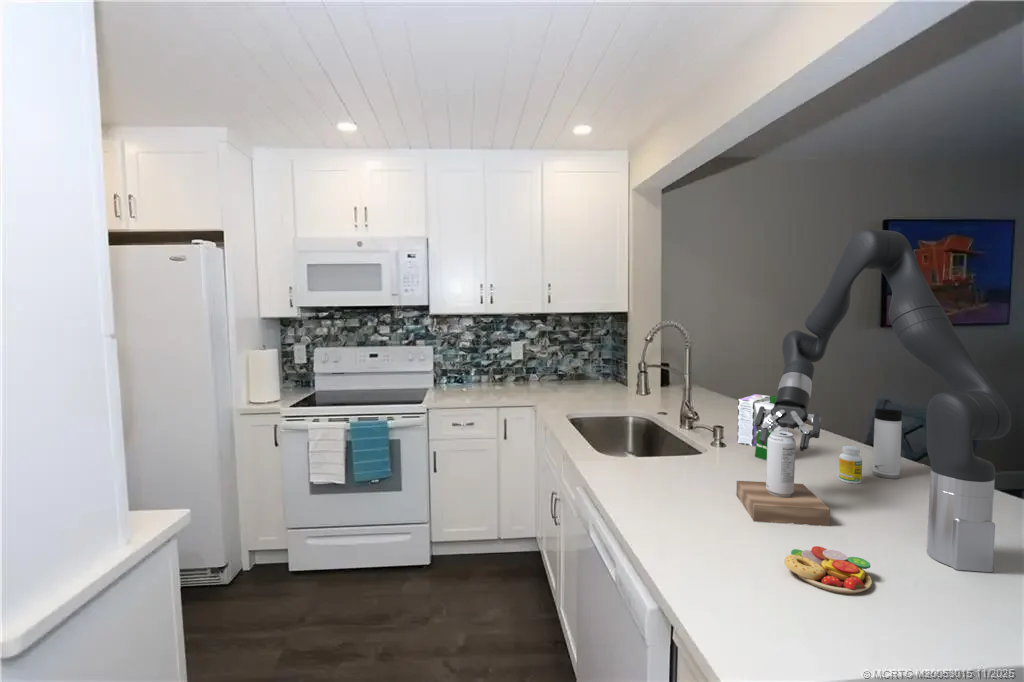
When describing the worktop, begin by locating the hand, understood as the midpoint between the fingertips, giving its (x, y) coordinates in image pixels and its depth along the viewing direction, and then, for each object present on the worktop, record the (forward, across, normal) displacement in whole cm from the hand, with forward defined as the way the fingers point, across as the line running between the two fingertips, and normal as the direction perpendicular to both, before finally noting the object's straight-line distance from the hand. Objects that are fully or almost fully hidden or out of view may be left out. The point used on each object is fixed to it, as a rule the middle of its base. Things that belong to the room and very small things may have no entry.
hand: (782, 446), depth 122 cm
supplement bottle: (-12, +11, +34) cm, 37 cm away
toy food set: (+31, +14, -9) cm, 35 cm away
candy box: (-30, -22, +52) cm, 64 cm away
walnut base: (+12, 0, +10) cm, 15 cm away
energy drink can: (+9, 0, +7) cm, 12 cm away
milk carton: (-18, -12, +40) cm, 46 cm away
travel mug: (-20, +18, +42) cm, 50 cm away
